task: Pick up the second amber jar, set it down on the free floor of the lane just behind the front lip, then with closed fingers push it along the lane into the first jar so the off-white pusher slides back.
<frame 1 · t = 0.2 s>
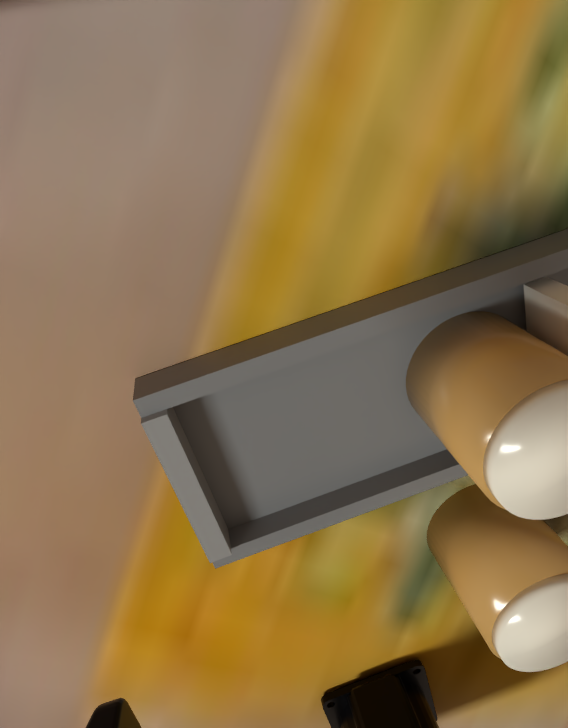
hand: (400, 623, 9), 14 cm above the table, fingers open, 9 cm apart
amber jar A: (465, 371, 24), point 1 cm above the table, touching lane, pusher
amber jar B: (475, 524, 29), on the table
lane: (514, 346, 24), on the table
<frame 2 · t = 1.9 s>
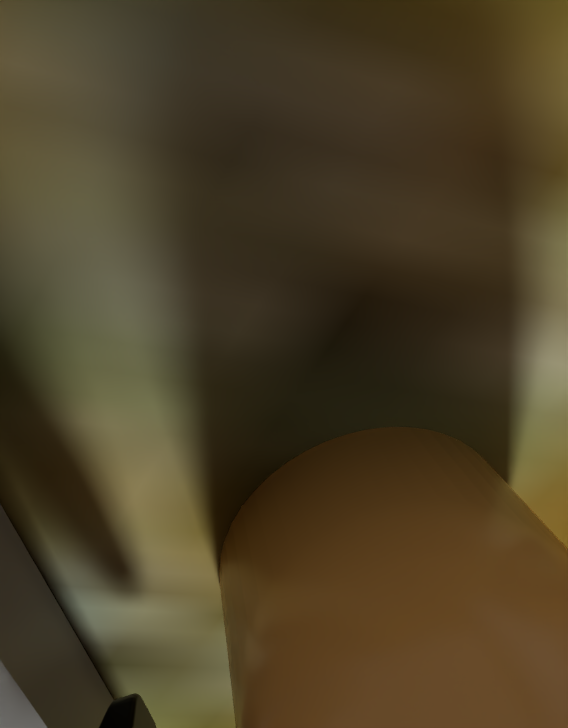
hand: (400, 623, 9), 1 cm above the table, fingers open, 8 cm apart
amber jar B: (368, 555, 10), on the table
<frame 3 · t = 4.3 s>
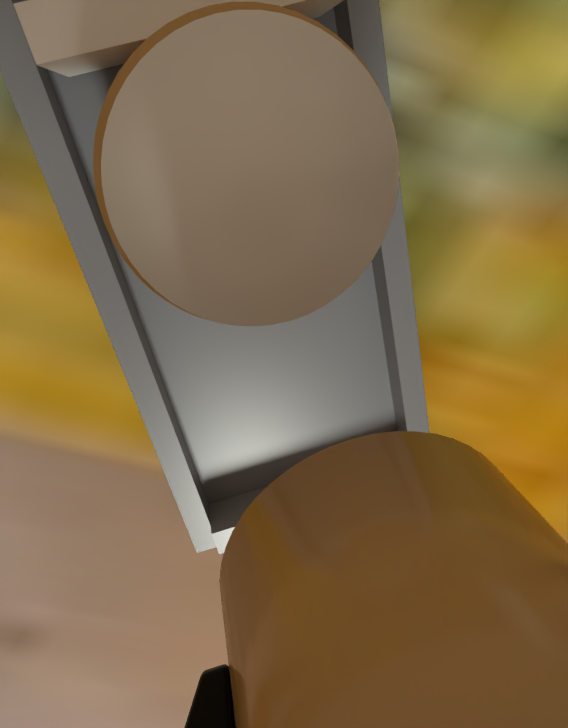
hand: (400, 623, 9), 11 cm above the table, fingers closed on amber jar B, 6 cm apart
amber jar A: (224, 159, 15), point 1 cm above the table, touching lane, pusher
amber jar B: (373, 563, 10), point 10 cm above the table, touching gripper
lane: (188, 23, 14), on the table
when the fingers open (3 cm above the table, at t = 6.2 s): amber jar B drops 2 cm, resting on lane.
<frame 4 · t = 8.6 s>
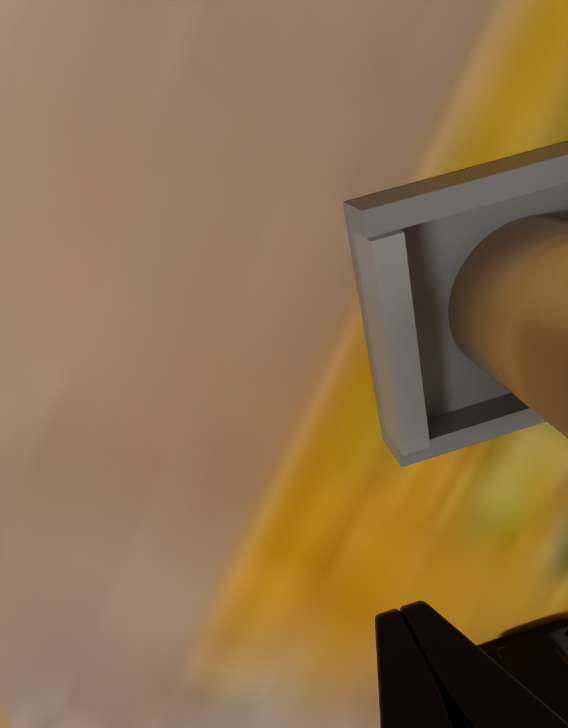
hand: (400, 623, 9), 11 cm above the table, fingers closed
amber jar B: (523, 297, 19), point 1 cm above the table, touching lane
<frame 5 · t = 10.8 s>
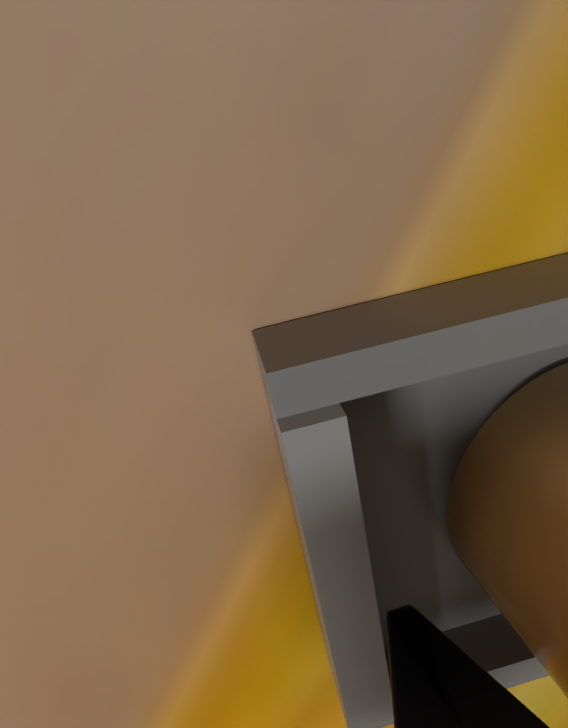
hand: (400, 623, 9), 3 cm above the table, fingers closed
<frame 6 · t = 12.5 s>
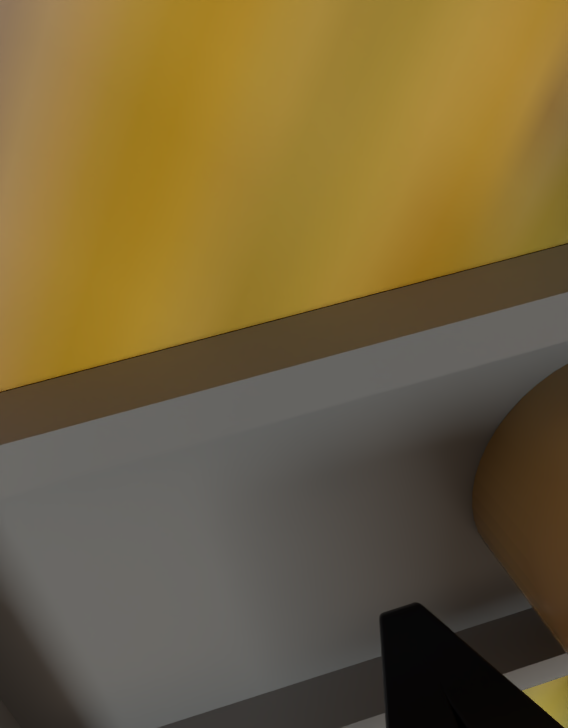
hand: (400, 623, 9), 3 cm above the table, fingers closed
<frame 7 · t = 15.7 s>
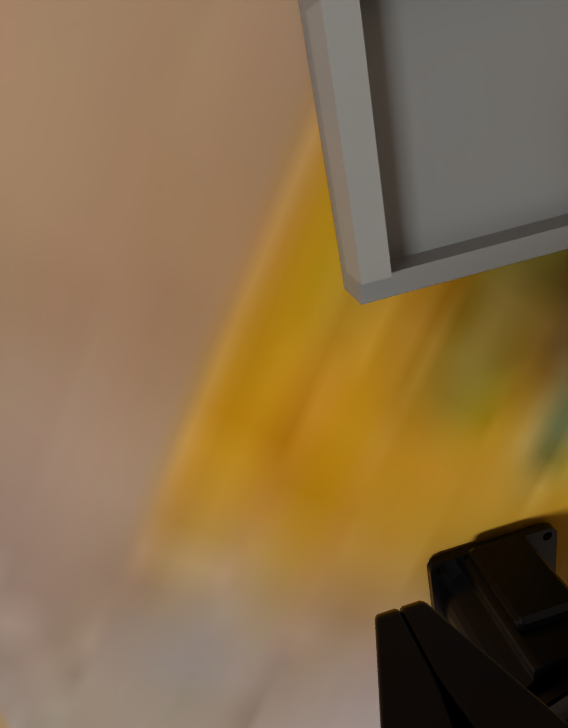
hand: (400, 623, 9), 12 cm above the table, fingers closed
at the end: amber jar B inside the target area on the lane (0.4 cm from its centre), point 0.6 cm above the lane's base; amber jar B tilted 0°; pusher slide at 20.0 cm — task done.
